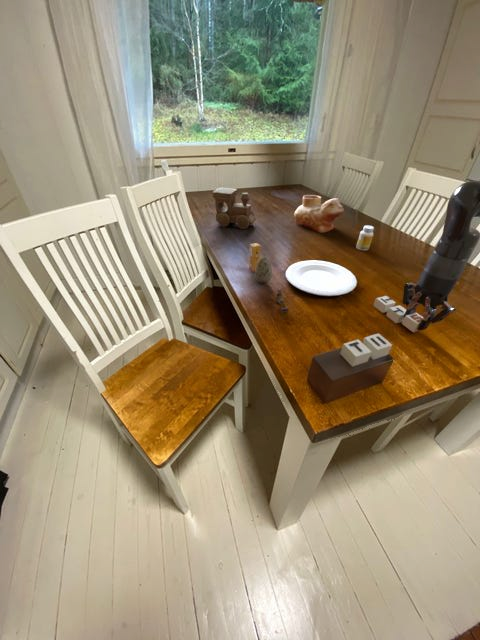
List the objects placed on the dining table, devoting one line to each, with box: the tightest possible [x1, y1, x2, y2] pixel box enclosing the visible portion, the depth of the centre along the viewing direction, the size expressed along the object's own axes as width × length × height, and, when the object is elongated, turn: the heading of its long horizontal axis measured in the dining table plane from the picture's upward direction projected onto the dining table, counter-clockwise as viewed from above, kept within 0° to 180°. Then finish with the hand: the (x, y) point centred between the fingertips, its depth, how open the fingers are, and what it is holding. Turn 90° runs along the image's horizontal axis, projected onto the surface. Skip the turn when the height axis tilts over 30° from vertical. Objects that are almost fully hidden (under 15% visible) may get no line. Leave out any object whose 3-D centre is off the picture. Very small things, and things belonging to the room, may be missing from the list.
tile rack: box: [306, 340, 395, 405], centre depth 61 cm, size 7×16×8 cm, turn 111°
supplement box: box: [248, 242, 262, 273], centre depth 102 cm, size 3×4×10 cm
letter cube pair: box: [372, 295, 407, 324], centre depth 83 cm, size 10×4×3 cm, turn 21°
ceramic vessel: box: [293, 194, 345, 234], centre depth 138 cm, size 14×26×15 cm, turn 41°
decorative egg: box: [254, 256, 273, 284], centre depth 94 cm, size 6×6×10 cm
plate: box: [285, 259, 358, 297], centre depth 98 cm, size 25×25×2 cm
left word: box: [340, 332, 393, 367], centre depth 58 cm, size 4×10×3 cm, turn 111°
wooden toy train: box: [212, 187, 257, 230], centre depth 138 cm, size 20×11×17 cm, turn 72°
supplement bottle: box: [355, 224, 375, 252], centre depth 118 cm, size 5×5×10 cm
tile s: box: [401, 312, 424, 333], centre depth 76 cm, size 4×4×3 cm
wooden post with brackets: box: [275, 288, 289, 313], centre depth 86 cm, size 2×8×4 cm, turn 10°
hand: (413, 324), depth 77 cm, fingers closed on tile s, 4 cm apart
